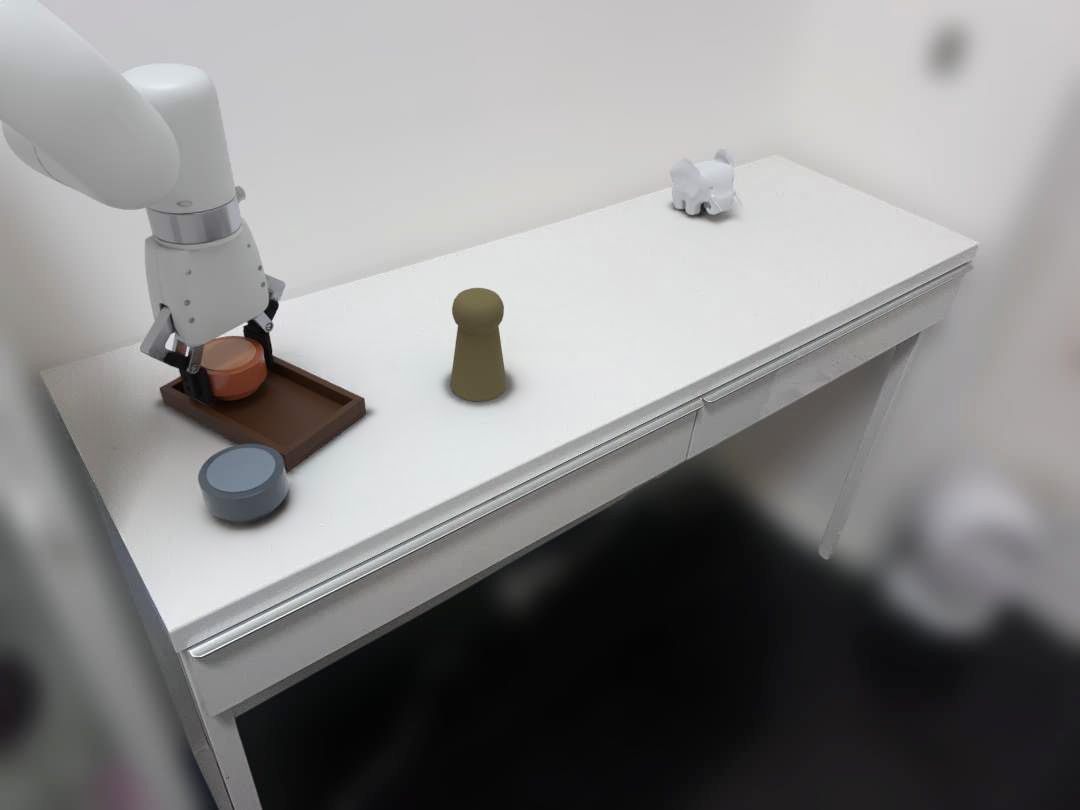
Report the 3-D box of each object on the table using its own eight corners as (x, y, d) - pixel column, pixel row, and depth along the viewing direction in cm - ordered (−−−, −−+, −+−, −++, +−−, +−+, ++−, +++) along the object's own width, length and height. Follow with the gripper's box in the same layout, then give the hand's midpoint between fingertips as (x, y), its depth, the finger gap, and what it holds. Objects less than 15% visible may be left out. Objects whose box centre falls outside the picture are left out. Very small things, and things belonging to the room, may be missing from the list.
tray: (287, 471, 74) (284, 455, 73) (163, 403, 82) (158, 387, 80) (366, 413, 82) (364, 398, 80) (246, 356, 89) (242, 340, 88)
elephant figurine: (707, 232, 119) (718, 174, 113) (651, 203, 126) (659, 147, 121) (751, 218, 123) (763, 161, 118) (695, 190, 131) (704, 136, 125)
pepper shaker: (493, 363, 90) (493, 275, 83) (515, 393, 85) (518, 303, 79) (441, 375, 87) (438, 286, 81) (462, 407, 83) (460, 315, 76)
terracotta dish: (229, 415, 78) (222, 382, 76) (182, 389, 81) (173, 357, 79) (284, 381, 83) (278, 349, 81) (237, 358, 86) (230, 327, 84)
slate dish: (245, 543, 67) (236, 509, 65) (190, 508, 70) (179, 475, 68) (307, 495, 72) (301, 462, 70) (252, 464, 75) (245, 432, 73)
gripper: (243, 176, 79) (271, 331, 89) (77, 239, 67) (133, 409, 77) (299, 196, 76) (321, 354, 86) (135, 265, 64) (185, 438, 74)
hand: (232, 379), depth 82 cm, fingers closed on terracotta dish, 7 cm apart
